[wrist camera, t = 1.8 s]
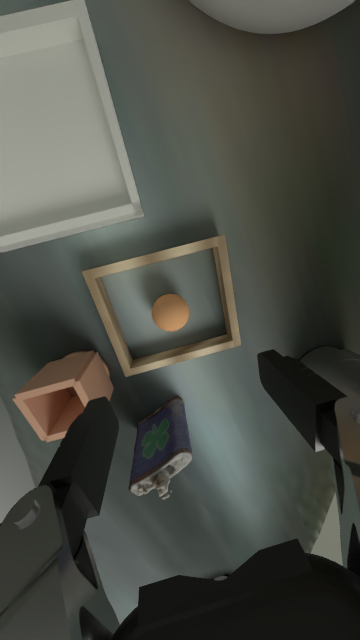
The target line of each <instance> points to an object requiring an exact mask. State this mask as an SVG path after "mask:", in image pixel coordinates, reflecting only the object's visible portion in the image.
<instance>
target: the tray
mask: <svg viewBox="0 0 360 640" xmlns="http://www.w3.org/2000/svg"><path fill="white" fill-rule="evenodd" d="M140 217H144V213H143V210H142V206H141V202H140V199H139V195H138V191H137V188H136V184H135V181H134V177H133V173H132V170H131V166H130V162H129V159H128V155H127V151H126V148H125V144H124V140H123V137H122V133H121V130H120V126H119V122H118V119H117V115H116V111H115V108H114V104H113V100H112V97H111V93H110V89H109V86H108V82H107V79H106V75H105V71H104V68H103V64H102V60H101V57H100V53H99V49H98V46H97V42H96V39H95V35H94V32H93V28H92V25H91V21H90V18H89V14H88V11H87V7H86V4H85V0H71V1H66V2H62V3H57V4H53V5H48V6H44V7H39V8H35V9H30V10H26V11H21V12H17V13H12V14H8V15H3V16H0V252H6V251H10V250H14V249H18V248H22V247H26V246H30V245H34V244H38V243H42V242H46V241H50V240H53V239H57V238H61V237H65V236H69V235H73V234H77V233H81V232H85V231H89V230H93V229H97V228H101V227H105V226H109V225H112V224H116V223H120V222H124V221H128V220H132V219H136V218H140Z"/></svg>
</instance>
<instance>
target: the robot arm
mask: <svg viewBox="0 0 360 640" xmlns="http://www.w3.org/2000/svg"><path fill="white" fill-rule="evenodd" d="M257 357H258V366H259V375H260V380H261V383H262V385H263V387H264V389H265V390H266V392H267V393H268V394H269V395H270V396H271V398H272V399H273V400H274V401H275V403H276V404H277V405H278V406H279V408H280V409H281V410H282V411H283V413H284V414H285V415H286V416H287V418H288V419H289V420H290V421H291V422H292V424H293V425H294V426H295V427H296V429H297V430H298V431H299V432H300V434H301V435H302V436H303V437H304V439H305V440H306V441H307V442H308V444H309V445H310V446H311V447H312V449H313V450H314V451H315V452H317V451H320V450H324V449H326V450H327V451H328V452H329V453H330V454H331V456H332V467H333V475H334V482H335V490H336V497H337V504H338V512H339V521H340V538H341V551H342V561H343V566H341V565H339V564H338V563H336V562H334V561H331V560H329V559H327V558H324V557H321V556H318V555H314V554H310V553H304V551H303V549H302V547H301V545H300V543H299V541H298V539H294V540H291V541H287V542H284V543H281V544H278V545H275V546H271V547H268V548H265V549H262V550H259V551H258V552H257V553H255V554H254V555H253V556H252V557H251V558H249V559H248V560H247V561H246V562H245V563H244V564H242V565H241V566H240V567H239V568H238V569H237V570H235V571H234V572H233V573H232V574H231V575H229V576H228V577H227V578H226V579H224V580H211V579H204V578H196V577H189V576H182V575H177V576H174V577H171V578H168V579H164V580H161V581H158V582H155V583H151V584H148V585H145V586H142V587H139V600H138V607H136V608H135V609H134V610H133V611H132V612H131V613H130V614H129V615H128V616H127V617H126V618H125V619H124V621H123V622H122V623H121V625H120V624H119V621H118V619H117V617H116V614H115V612H114V610H113V608H112V606H111V604H110V602H109V600H108V598H107V596H106V594H105V591H104V588H103V585H102V582H101V579H100V576H99V573H98V570H97V566H96V563H95V560H94V557H93V554H92V551H91V547H90V544H89V541H88V538H87V535H86V533H85V531H84V528H85V524H86V520H87V518H91V517H94V516H98V515H99V513H100V509H101V505H102V500H103V496H104V492H105V487H106V483H107V479H108V474H109V470H110V465H111V461H112V457H113V452H114V448H115V444H116V439H117V435H118V430H119V425H118V419H117V417H116V415H115V413H114V411H113V409H112V406H111V404H110V402H109V400H108V398H107V397H106V396H103V397H100V398H96V399H93V400H89V401H88V403H87V405H86V407H85V409H84V411H83V413H82V414H79V415H78V417H77V418H76V419H75V420H74V421H73V422H72V423H71V425H70V427H69V428H68V430H67V432H66V434H65V437H64V438H63V440H62V442H61V444H60V447H59V448H58V449H57V451H56V453H55V455H54V457H53V459H52V461H51V463H50V465H49V467H48V469H47V470H46V472H45V474H44V476H43V478H42V480H41V482H40V484H39V486H38V487H36V488H34V489H33V490H31V491H29V492H28V493H27V494H25V495H24V496H23V497H22V498H21V499H20V500H19V501H18V502H17V503H16V504H15V505H14V506H13V507H12V508H11V510H10V511H9V512H8V514H7V515H6V517H5V518H4V520H3V522H2V523H1V524H0V640H360V355H358V354H356V353H354V352H352V351H350V350H348V349H346V348H345V349H337V348H335V347H330V346H326V347H320V348H317V349H314V350H312V351H310V352H309V353H307V354H306V355H305V356H304V357H303V358H302V359H301V360H300V361H299V360H296V359H294V358H291V357H289V356H285V357H283V356H282V355H280V354H279V353H278V352H276V351H275V350H273V349H272V350H268V351H265V352H261V353H258V355H257Z"/></svg>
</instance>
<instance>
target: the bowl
mask: <svg viewBox="0 0 360 640" xmlns="http://www.w3.org/2000/svg"><path fill="white" fill-rule="evenodd" d="M188 1H189V2H191V3H192V4H193V5H194V6H196V7H197V8H198V9H199V10H201V11H202V12H204V13H205V14H207V15H208V16H210V17H212V18H213V19H215V20H217V21H219V22H221V23H223V24H225V25H227V26H230V27H233V28H236V29H238V30H242V31H246V32H251V33H258V34H279V33H286V32H292V31H296V30H300V29H303V28H306V27H309V26H312V25H314V24H317V23H319V22H321V21H323V20H325V19H327V18H329V17H331V16H333V15H334V14H336V13H338V12H339V11H341V10H343V9H344V8H346V7H347V6H349V5H350V4H351V3H353V2H354V1H355V0H188Z"/></svg>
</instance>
